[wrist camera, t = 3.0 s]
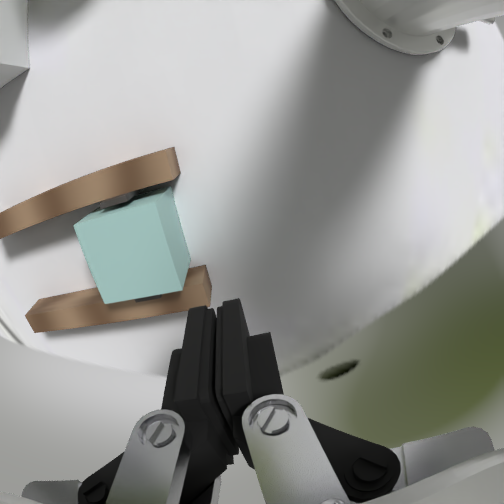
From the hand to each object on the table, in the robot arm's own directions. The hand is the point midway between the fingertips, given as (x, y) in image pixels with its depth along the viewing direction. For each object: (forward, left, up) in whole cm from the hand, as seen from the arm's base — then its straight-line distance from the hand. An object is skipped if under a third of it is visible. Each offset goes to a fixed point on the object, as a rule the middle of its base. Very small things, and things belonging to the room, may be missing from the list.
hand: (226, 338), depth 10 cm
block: (+7, 0, -14) cm, 15 cm away
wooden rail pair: (+12, 0, -14) cm, 18 cm away
